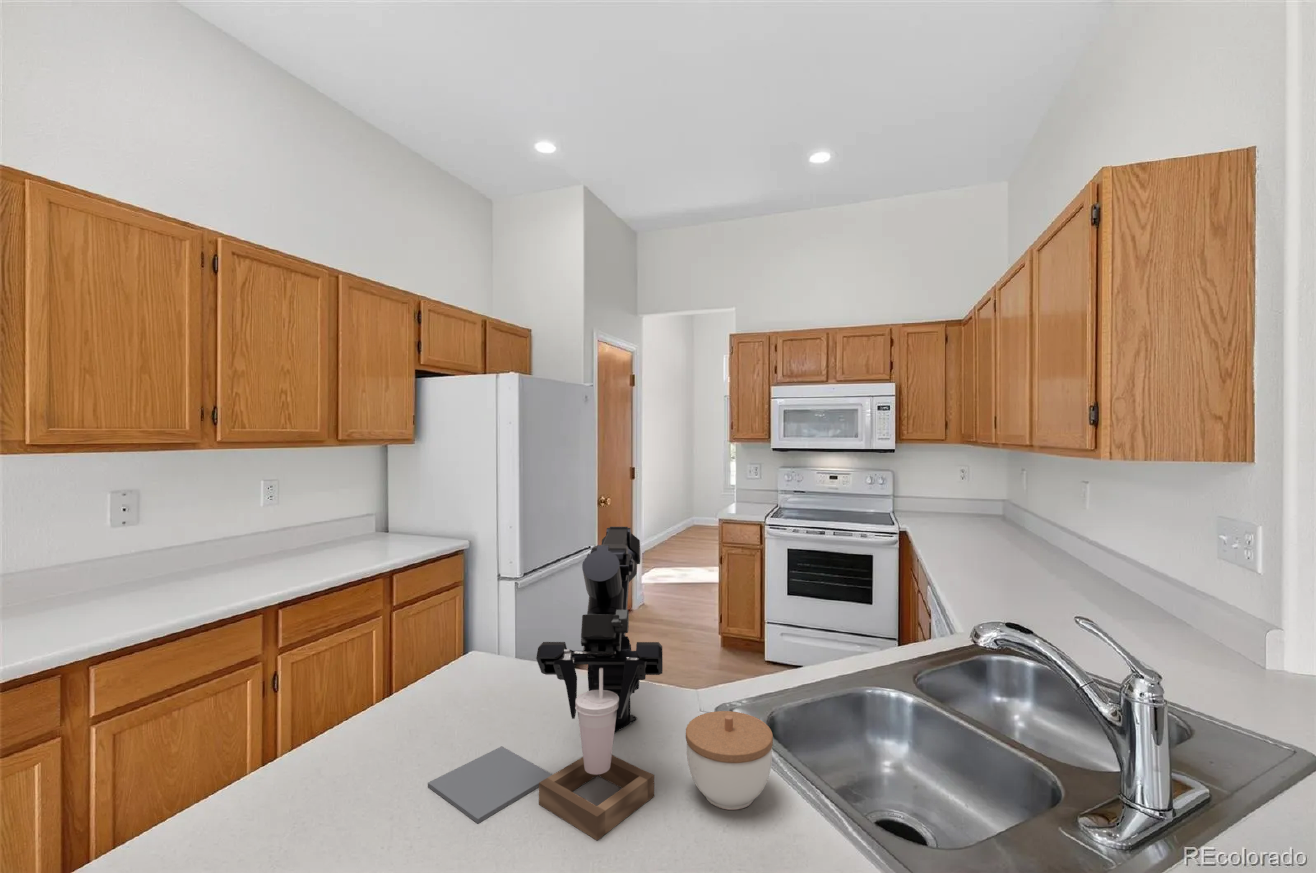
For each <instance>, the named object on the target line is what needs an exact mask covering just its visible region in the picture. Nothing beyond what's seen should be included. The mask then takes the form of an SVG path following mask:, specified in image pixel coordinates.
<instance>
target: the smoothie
mask: <svg viewBox="0 0 1316 873" xmlns="http://www.w3.org/2000/svg"><path fill="white" fill-rule="evenodd" d="M618 707H619V696H618V695H617V694H616V693H614V692H612V691H608V690H603V668H599V690H591V691H589V690H587V691H584V692H582V693H580V694H579V695H577V698H576V700H575V709H576V713H577V717H578V726H579V735H580V743H581V750H582V757H583V760H584V768H585V771H586V772H587V773H590V774H594V775H597V776H598V774H603V773H605V772H607V771H608V770H609V769H610V765H611V757H612V755H613V747H614V737H615V733H614V731H615V722H616V714H617V709H618Z"/></svg>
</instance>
